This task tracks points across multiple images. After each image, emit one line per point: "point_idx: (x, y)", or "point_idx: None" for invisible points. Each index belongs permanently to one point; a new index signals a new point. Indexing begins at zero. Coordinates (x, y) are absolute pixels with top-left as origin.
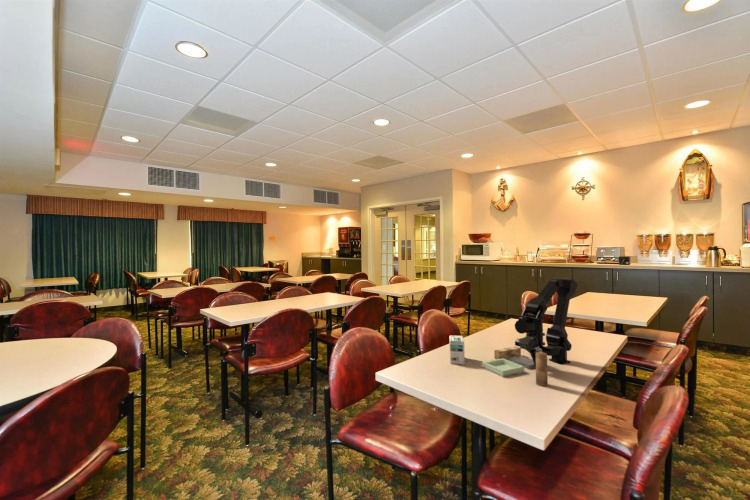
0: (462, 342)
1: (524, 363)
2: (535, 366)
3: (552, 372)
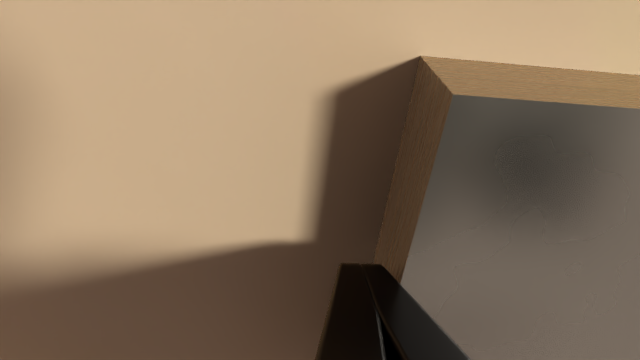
0: None
1: (621, 138)
2: None
3: (25, 299)
